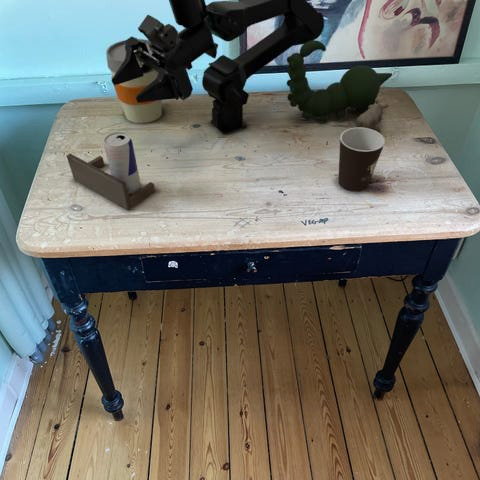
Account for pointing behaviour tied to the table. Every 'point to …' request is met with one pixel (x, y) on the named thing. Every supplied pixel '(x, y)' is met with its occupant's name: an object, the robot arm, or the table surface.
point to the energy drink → (122, 160)
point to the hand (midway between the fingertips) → (124, 91)
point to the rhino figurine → (371, 116)
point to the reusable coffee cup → (133, 87)
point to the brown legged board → (106, 182)
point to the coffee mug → (358, 157)
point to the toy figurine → (332, 87)
